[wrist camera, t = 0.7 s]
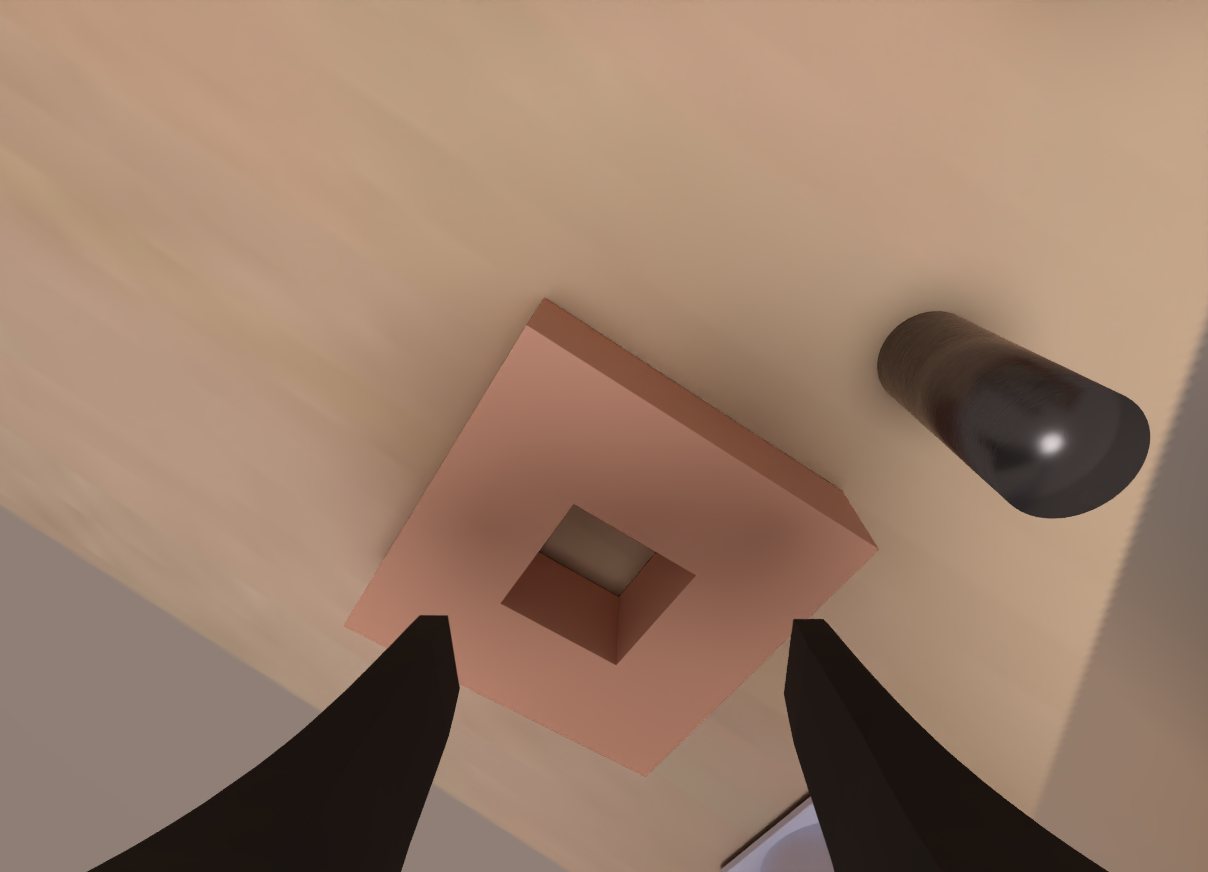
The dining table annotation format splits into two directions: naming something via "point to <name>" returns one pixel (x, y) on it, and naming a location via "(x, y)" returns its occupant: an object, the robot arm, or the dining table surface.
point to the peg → (1015, 415)
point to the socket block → (631, 505)
